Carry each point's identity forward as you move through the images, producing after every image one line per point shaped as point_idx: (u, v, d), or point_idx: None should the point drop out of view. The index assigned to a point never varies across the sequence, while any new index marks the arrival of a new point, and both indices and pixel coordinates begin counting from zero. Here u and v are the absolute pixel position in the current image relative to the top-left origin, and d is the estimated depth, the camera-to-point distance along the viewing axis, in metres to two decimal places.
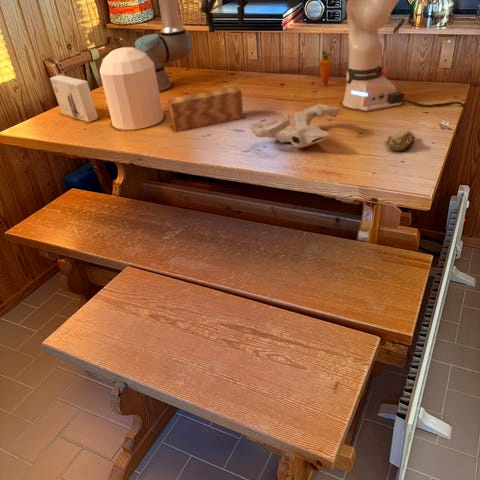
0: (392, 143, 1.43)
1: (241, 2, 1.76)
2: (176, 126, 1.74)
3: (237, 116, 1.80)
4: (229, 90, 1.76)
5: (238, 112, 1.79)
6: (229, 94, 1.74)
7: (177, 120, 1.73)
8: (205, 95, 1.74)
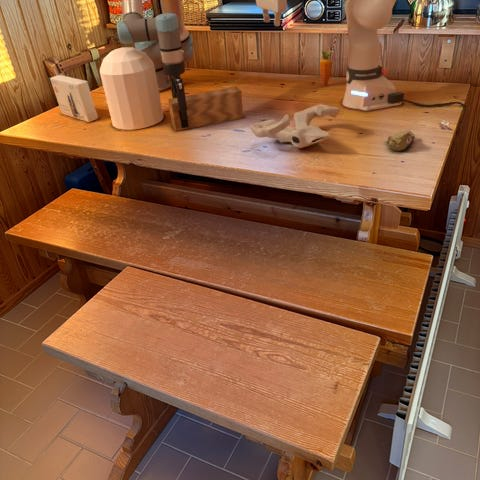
0: (392, 143, 1.43)
1: None
2: (176, 126, 1.74)
3: (237, 116, 1.80)
4: (229, 90, 1.76)
5: (238, 112, 1.79)
6: (229, 94, 1.74)
7: (177, 120, 1.73)
8: (205, 95, 1.74)
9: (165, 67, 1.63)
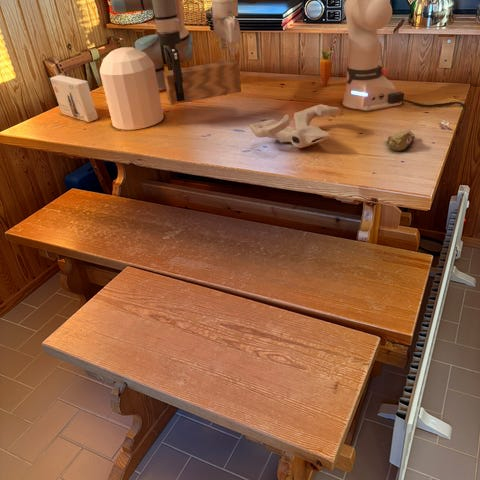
0: (392, 143, 1.43)
1: None
2: (171, 100, 1.68)
3: (234, 90, 1.74)
4: (227, 63, 1.70)
5: (236, 86, 1.73)
6: (226, 66, 1.68)
7: (173, 93, 1.67)
8: (202, 67, 1.68)
9: (160, 36, 1.57)
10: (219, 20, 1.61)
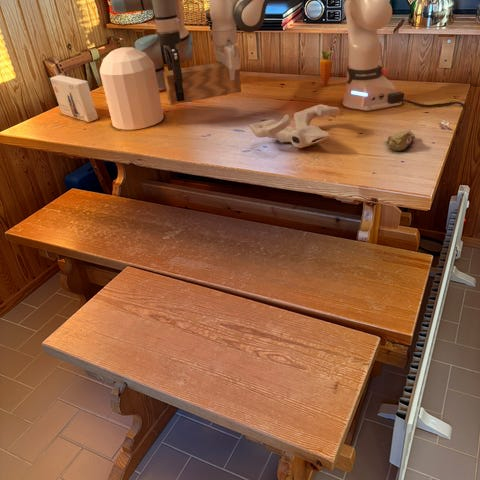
0: (392, 143, 1.43)
1: None
2: (171, 100, 1.68)
3: (234, 91, 1.74)
4: None
5: (236, 86, 1.73)
6: None
7: (173, 93, 1.67)
8: (202, 67, 1.68)
9: (160, 36, 1.57)
10: (219, 47, 1.66)
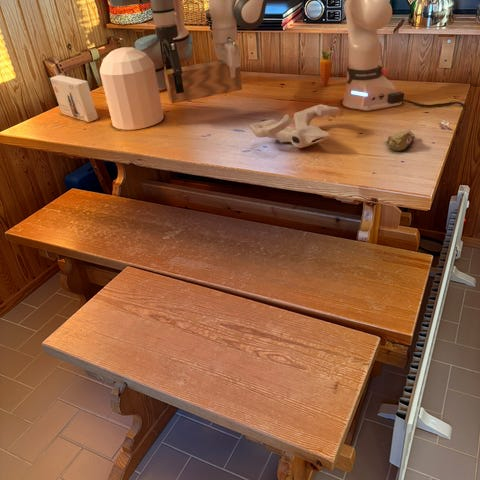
0: (392, 143, 1.43)
1: None
2: (172, 99, 1.68)
3: (235, 88, 1.74)
4: None
5: (236, 84, 1.73)
6: None
7: (174, 92, 1.67)
8: (202, 65, 1.68)
9: (157, 30, 1.56)
10: (219, 45, 1.65)
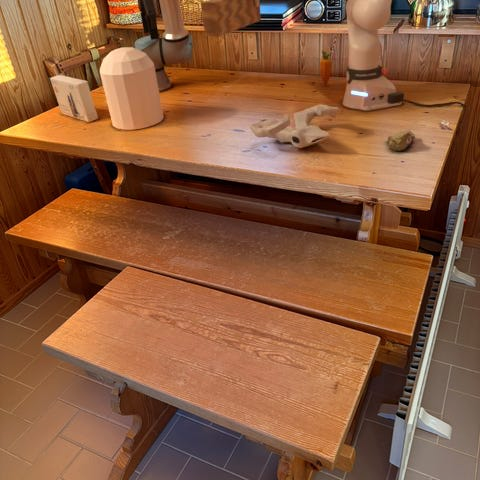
0: (392, 143, 1.43)
1: None
2: (218, 31, 1.59)
3: (257, 19, 1.75)
4: None
5: (257, 14, 1.75)
6: None
7: (219, 23, 1.58)
8: None
9: None
10: None
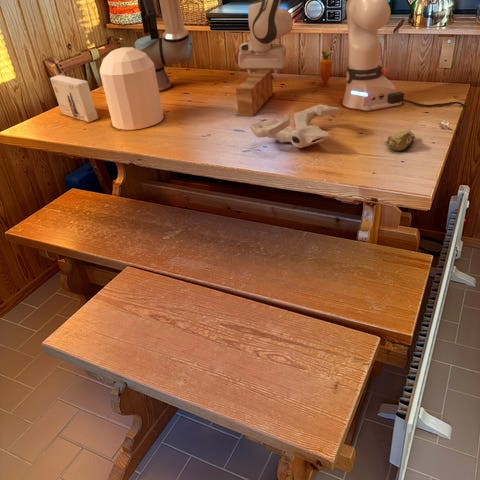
0: (392, 143, 1.43)
1: None
2: (252, 111, 1.81)
3: (271, 93, 1.99)
4: (263, 71, 1.94)
5: (271, 90, 1.99)
6: (268, 73, 1.93)
7: (253, 104, 1.80)
8: (256, 78, 1.87)
9: None
10: (262, 53, 1.87)
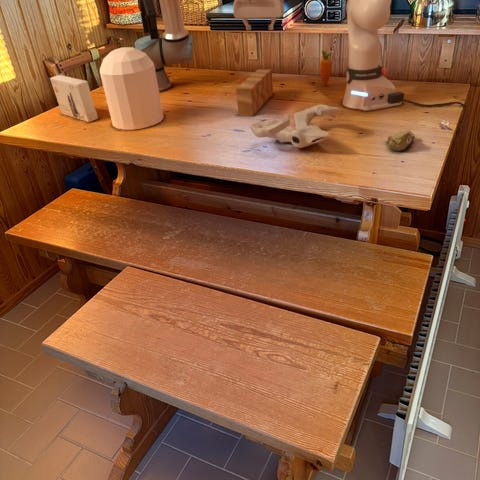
0: (392, 143, 1.43)
1: None
2: (252, 111, 1.81)
3: (271, 93, 1.99)
4: (263, 71, 1.94)
5: (271, 90, 1.99)
6: (268, 73, 1.93)
7: (253, 104, 1.80)
8: (256, 78, 1.87)
9: None
10: (259, 0, 1.76)
